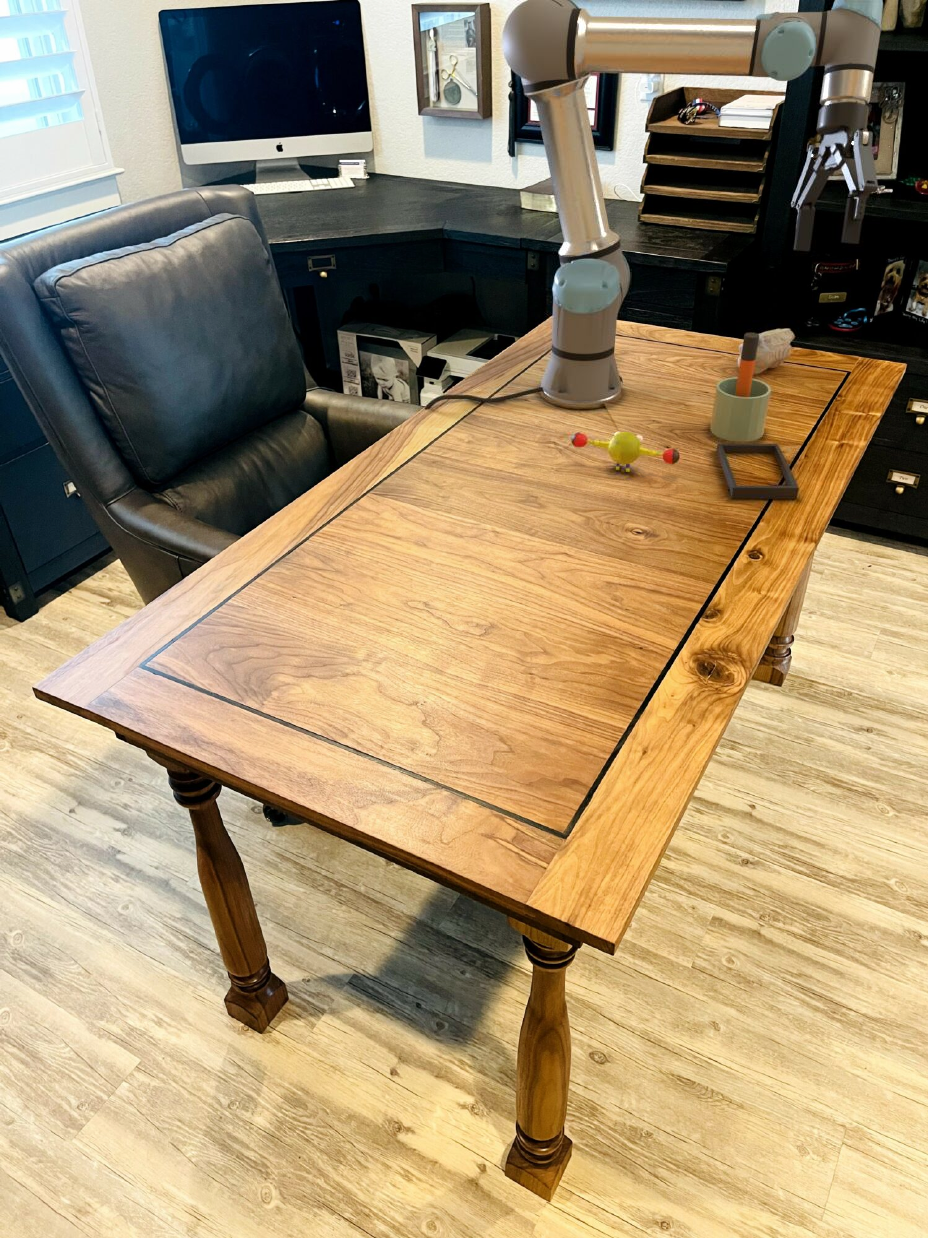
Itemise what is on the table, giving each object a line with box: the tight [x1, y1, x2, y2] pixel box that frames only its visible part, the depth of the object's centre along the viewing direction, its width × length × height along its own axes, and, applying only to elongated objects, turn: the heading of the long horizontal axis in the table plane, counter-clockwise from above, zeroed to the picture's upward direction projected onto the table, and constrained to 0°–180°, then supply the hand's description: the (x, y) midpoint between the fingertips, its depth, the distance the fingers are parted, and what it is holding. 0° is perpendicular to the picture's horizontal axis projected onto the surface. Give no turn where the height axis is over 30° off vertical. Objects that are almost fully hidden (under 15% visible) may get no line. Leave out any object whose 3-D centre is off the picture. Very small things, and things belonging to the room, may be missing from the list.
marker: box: [735, 332, 760, 397], centre depth 163 cm, size 2×2×17 cm
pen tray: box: [716, 443, 800, 500], centre depth 155 cm, size 15×10×2 cm, turn 177°
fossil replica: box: [737, 328, 796, 375], centre depth 189 cm, size 12×8×10 cm
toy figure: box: [570, 431, 681, 474], centre depth 156 cm, size 18×6×7 cm, turn 65°
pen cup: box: [709, 376, 772, 443], centre depth 166 cm, size 9×9×8 cm
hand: (824, 246), depth 160 cm, fingers open, 13 cm apart
